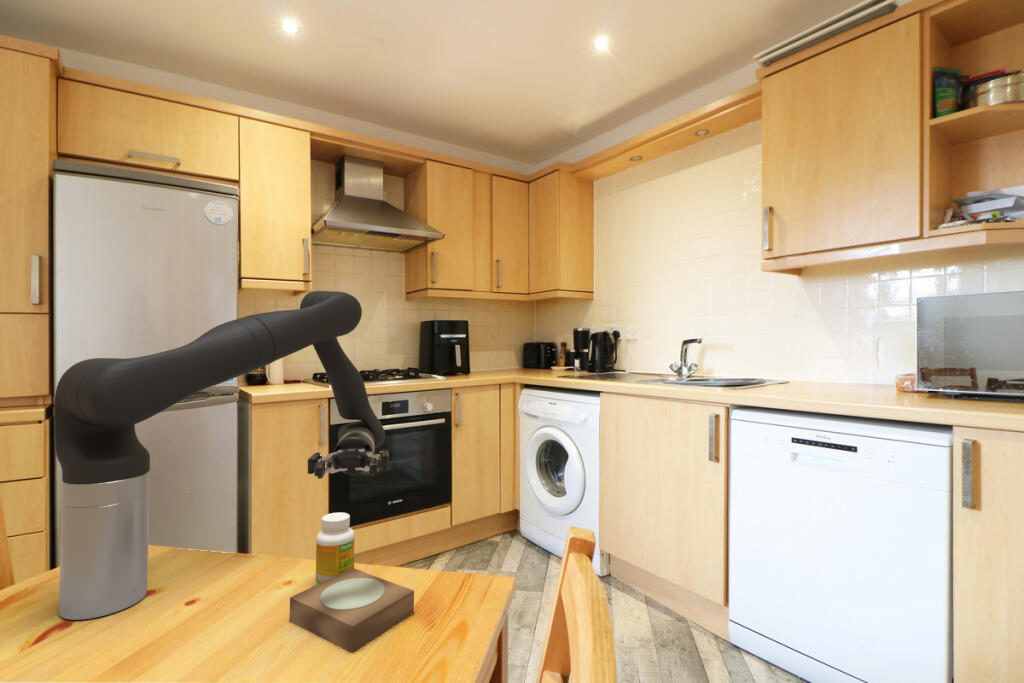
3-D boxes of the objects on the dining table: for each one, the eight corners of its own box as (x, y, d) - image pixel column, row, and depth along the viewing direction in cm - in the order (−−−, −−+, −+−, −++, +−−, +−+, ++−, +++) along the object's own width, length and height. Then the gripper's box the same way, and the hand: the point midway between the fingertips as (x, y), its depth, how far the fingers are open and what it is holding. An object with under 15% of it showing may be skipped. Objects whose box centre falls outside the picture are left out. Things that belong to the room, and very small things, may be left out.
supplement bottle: (341, 592, 70) (342, 524, 70) (307, 588, 71) (309, 521, 71) (360, 575, 75) (361, 512, 75) (328, 571, 76) (329, 509, 76)
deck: (289, 620, 62) (290, 595, 62) (352, 588, 71) (353, 566, 71) (352, 652, 56) (352, 624, 56) (413, 613, 64) (414, 589, 64)
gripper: (318, 434, 98) (302, 451, 82) (390, 431, 101) (388, 447, 86) (318, 471, 98) (301, 496, 82) (390, 467, 101) (388, 490, 86)
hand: (346, 471), depth 84 cm, fingers open, 8 cm apart
